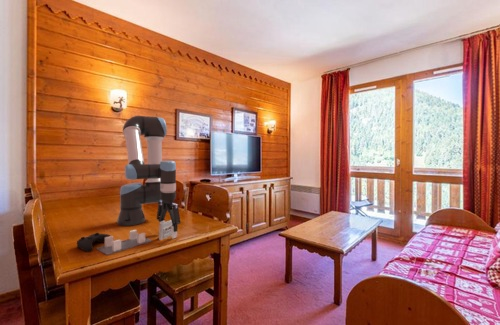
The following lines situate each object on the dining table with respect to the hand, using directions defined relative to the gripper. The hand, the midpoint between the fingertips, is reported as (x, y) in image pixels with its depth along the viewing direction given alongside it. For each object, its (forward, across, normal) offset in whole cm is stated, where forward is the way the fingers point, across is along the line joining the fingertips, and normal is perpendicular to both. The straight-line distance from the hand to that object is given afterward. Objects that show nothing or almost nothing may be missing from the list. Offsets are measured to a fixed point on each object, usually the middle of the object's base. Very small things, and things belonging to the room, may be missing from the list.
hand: (168, 235), depth 123 cm
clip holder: (0, -5, -19) cm, 20 cm away
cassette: (+1, 0, 0) cm, 1 cm away
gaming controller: (+1, -16, -28) cm, 32 cm away
